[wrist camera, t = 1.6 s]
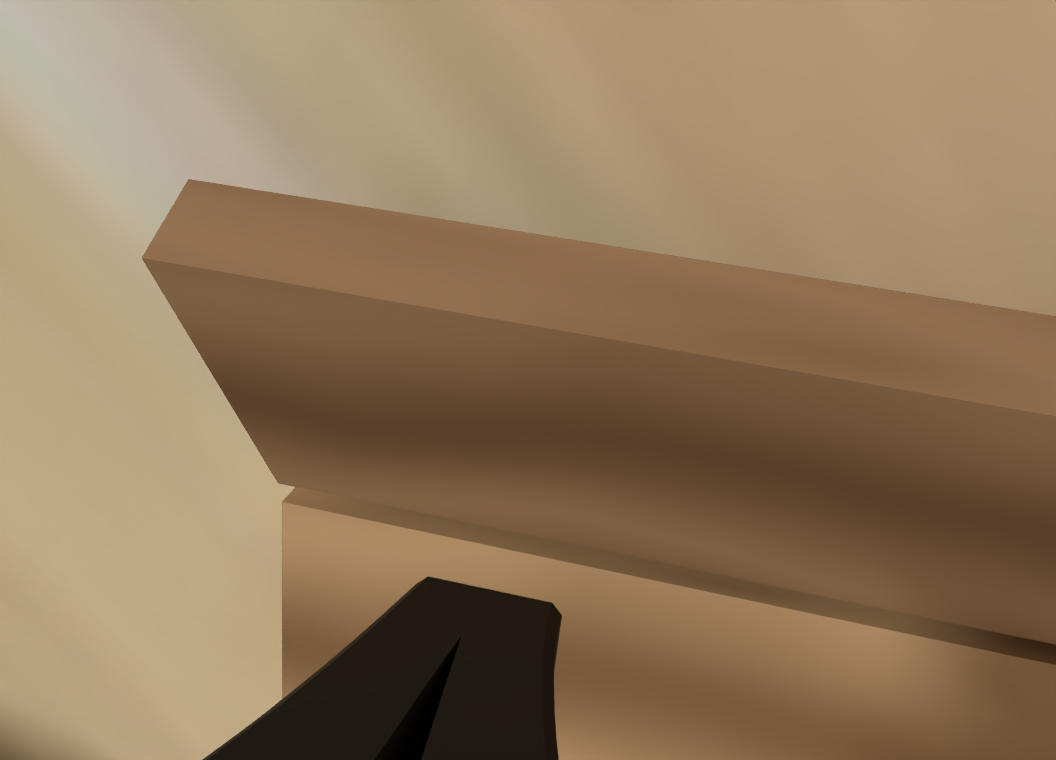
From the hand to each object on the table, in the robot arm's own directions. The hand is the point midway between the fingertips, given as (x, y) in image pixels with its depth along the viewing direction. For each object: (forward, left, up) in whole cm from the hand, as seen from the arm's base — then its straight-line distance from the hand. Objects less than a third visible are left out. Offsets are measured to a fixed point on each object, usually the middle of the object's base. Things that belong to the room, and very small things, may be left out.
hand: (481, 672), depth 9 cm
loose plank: (0, -5, -7) cm, 9 cm away
